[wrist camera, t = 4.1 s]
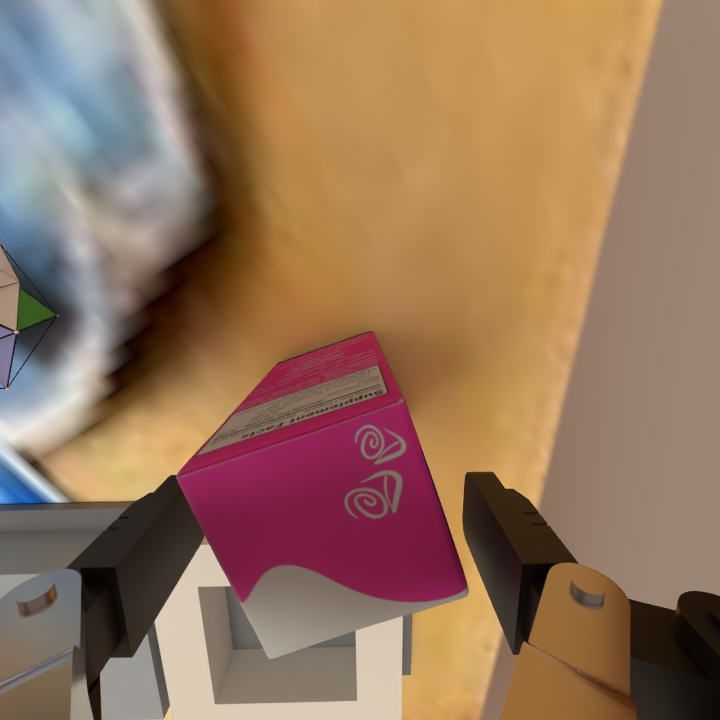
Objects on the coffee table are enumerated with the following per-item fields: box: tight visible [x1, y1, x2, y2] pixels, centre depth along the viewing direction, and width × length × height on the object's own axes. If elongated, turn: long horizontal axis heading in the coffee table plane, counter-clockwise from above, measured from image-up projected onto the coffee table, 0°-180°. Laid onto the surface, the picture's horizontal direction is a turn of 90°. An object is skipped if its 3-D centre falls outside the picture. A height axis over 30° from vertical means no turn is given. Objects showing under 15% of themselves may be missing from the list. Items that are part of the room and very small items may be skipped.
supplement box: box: [176, 332, 469, 659], centre depth 14 cm, size 6×6×12 cm
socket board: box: [0, 502, 412, 720], centre depth 21 cm, size 13×25×4 cm, turn 91°
